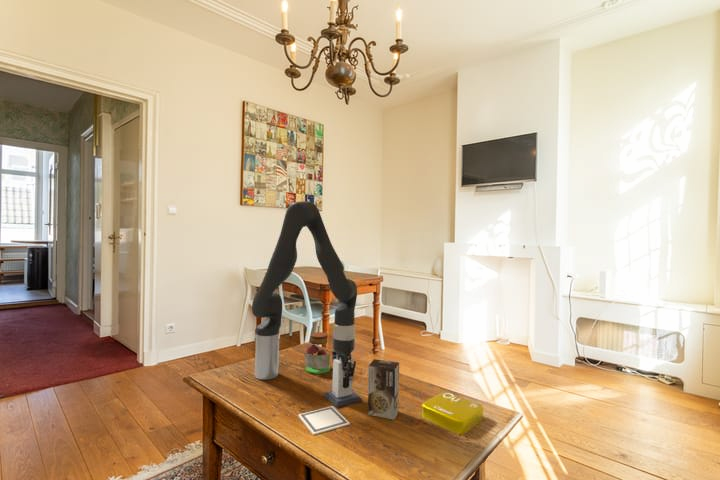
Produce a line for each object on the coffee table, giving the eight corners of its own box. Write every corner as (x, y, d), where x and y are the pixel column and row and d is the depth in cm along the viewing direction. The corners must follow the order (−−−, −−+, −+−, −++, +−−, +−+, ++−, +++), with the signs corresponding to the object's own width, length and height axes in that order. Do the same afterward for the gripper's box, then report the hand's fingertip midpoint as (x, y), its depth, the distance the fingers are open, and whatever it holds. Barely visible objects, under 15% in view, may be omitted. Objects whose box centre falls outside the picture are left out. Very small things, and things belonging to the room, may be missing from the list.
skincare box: (337, 398, 117) (338, 363, 117) (331, 393, 121) (332, 359, 121) (352, 394, 120) (353, 360, 120) (346, 389, 124) (347, 356, 124)
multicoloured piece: (303, 364, 152) (304, 330, 152) (331, 363, 153) (332, 330, 153) (301, 374, 140) (302, 338, 140) (332, 374, 142) (333, 338, 142)
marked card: (298, 415, 108) (298, 414, 108) (332, 407, 114) (332, 405, 114) (313, 435, 97) (313, 433, 97) (349, 424, 104) (349, 422, 104)
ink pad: (323, 395, 122) (323, 391, 122) (348, 390, 127) (348, 385, 127) (336, 407, 114) (336, 403, 114) (361, 401, 119) (362, 396, 119)
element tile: (419, 417, 110) (419, 402, 110) (444, 402, 120) (444, 389, 120) (461, 437, 99) (462, 421, 99) (485, 419, 110) (485, 404, 110)
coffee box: (398, 410, 113) (400, 362, 113) (394, 420, 107) (395, 369, 107) (372, 405, 116) (373, 358, 116) (366, 414, 110) (368, 364, 110)
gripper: (325, 332, 125) (324, 379, 125) (344, 343, 112) (342, 395, 112) (343, 330, 128) (342, 375, 128) (363, 340, 116) (362, 390, 116)
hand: (342, 384), depth 120 cm, fingers closed on skincare box, 4 cm apart
